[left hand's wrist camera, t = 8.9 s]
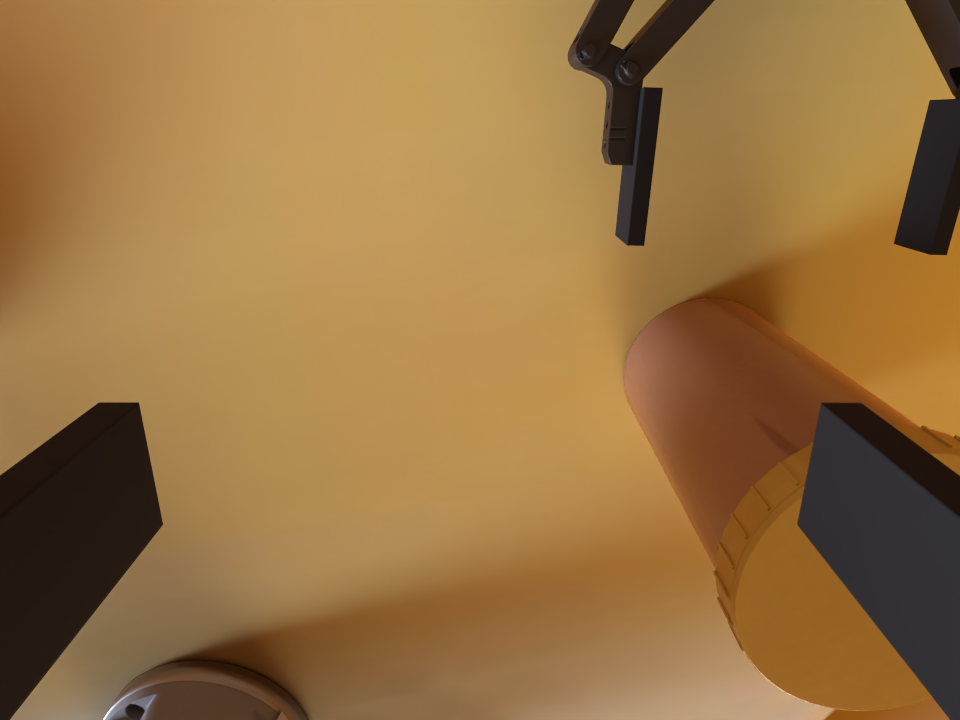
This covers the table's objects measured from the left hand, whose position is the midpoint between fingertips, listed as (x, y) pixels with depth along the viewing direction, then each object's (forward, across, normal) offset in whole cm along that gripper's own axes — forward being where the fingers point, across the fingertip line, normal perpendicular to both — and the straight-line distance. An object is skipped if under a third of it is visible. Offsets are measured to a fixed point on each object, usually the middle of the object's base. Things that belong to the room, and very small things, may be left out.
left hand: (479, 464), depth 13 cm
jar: (+25, +13, -8) cm, 29 cm away
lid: (+6, +13, -8) cm, 17 cm away
